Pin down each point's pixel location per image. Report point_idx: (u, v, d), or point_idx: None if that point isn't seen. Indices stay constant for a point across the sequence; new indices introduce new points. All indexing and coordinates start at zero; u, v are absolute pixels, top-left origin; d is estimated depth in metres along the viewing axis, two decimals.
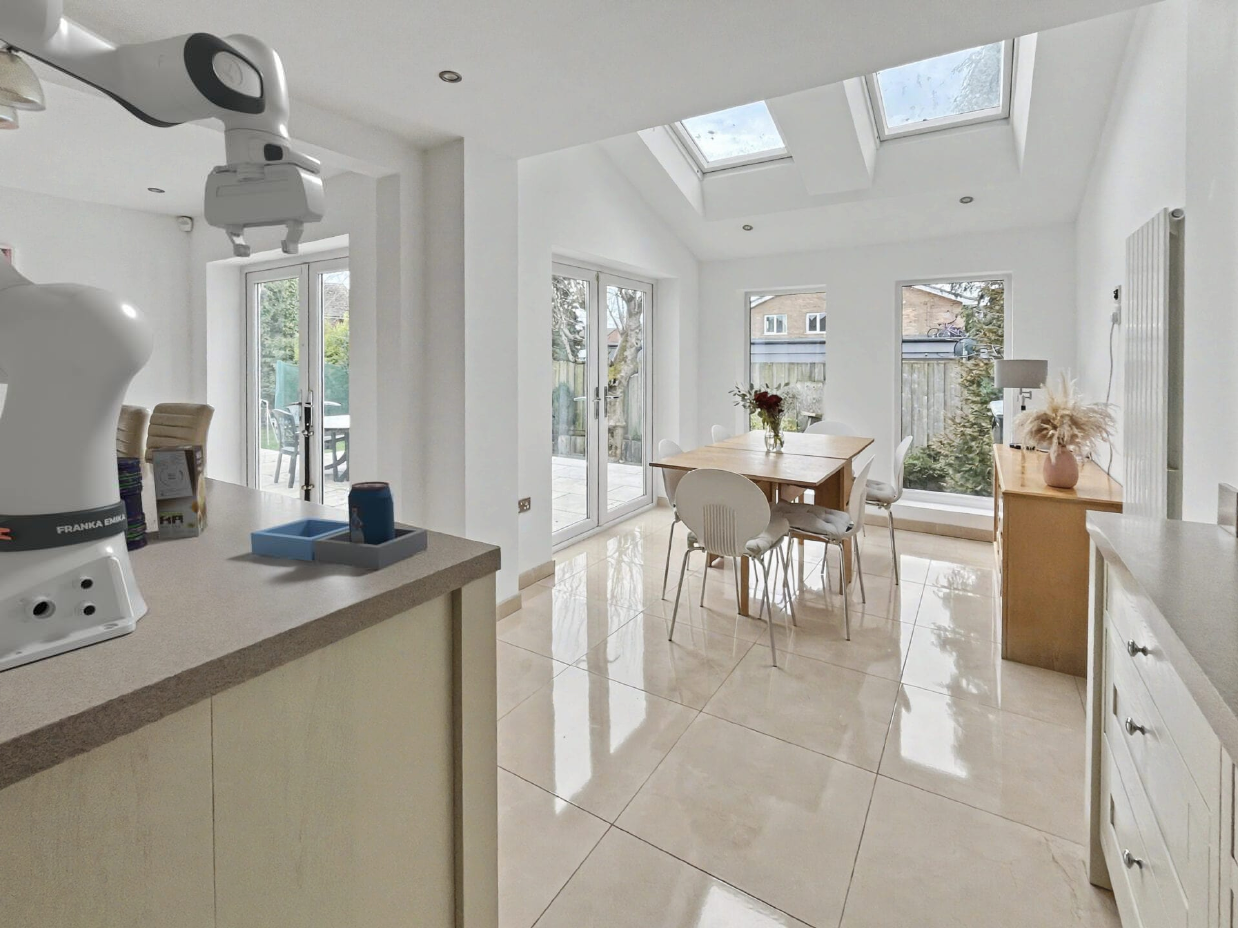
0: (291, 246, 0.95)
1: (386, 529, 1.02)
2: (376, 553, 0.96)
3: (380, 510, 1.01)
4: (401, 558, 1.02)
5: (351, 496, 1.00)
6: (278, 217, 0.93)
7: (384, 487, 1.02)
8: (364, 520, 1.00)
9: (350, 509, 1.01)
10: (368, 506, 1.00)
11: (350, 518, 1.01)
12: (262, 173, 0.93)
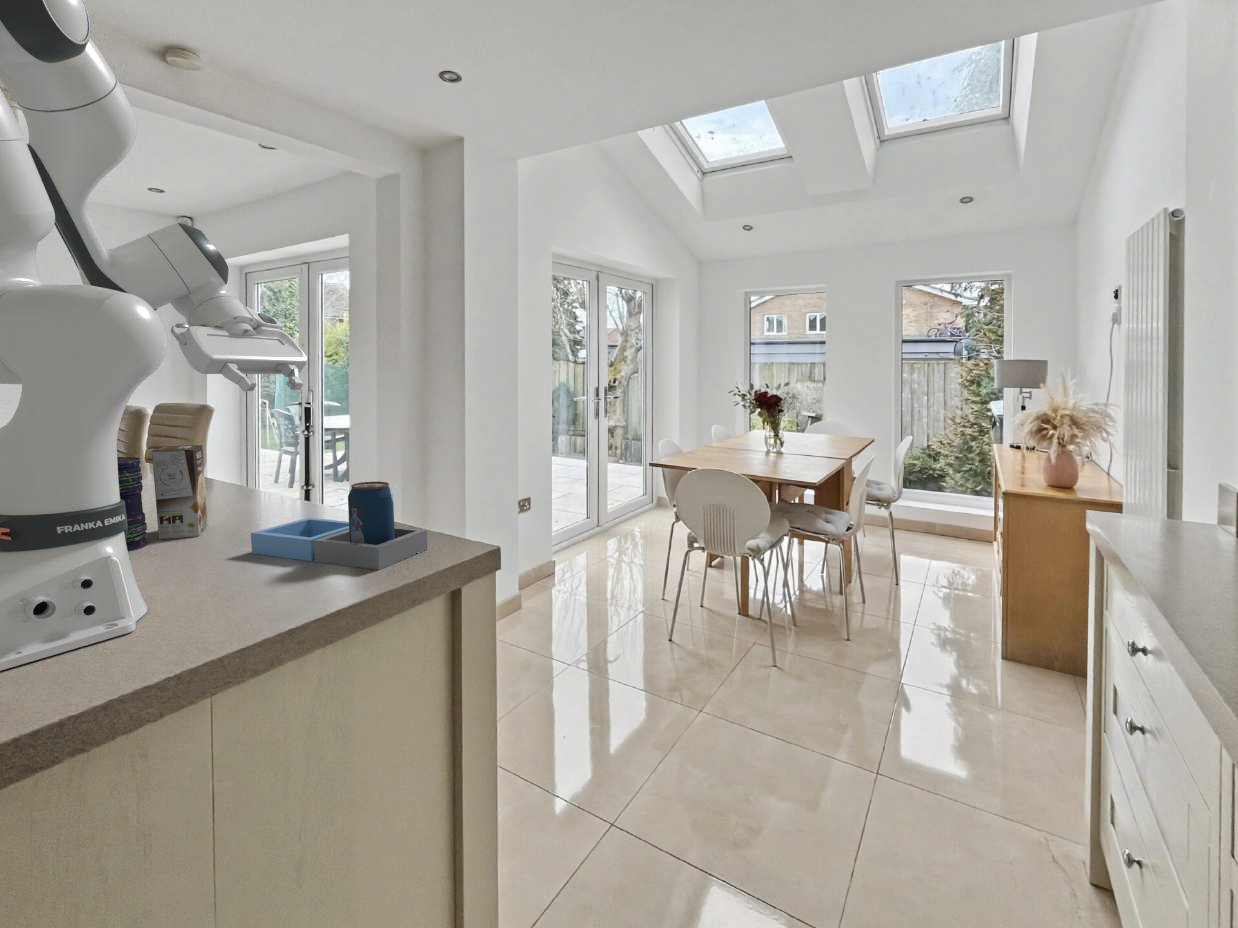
0: None
1: (386, 529, 1.02)
2: (376, 553, 0.96)
3: (380, 510, 1.01)
4: (401, 558, 1.02)
5: (351, 497, 1.00)
6: (285, 360, 1.08)
7: (384, 487, 1.02)
8: (364, 520, 1.00)
9: (350, 509, 1.01)
10: (367, 506, 1.00)
11: (350, 518, 1.01)
12: None
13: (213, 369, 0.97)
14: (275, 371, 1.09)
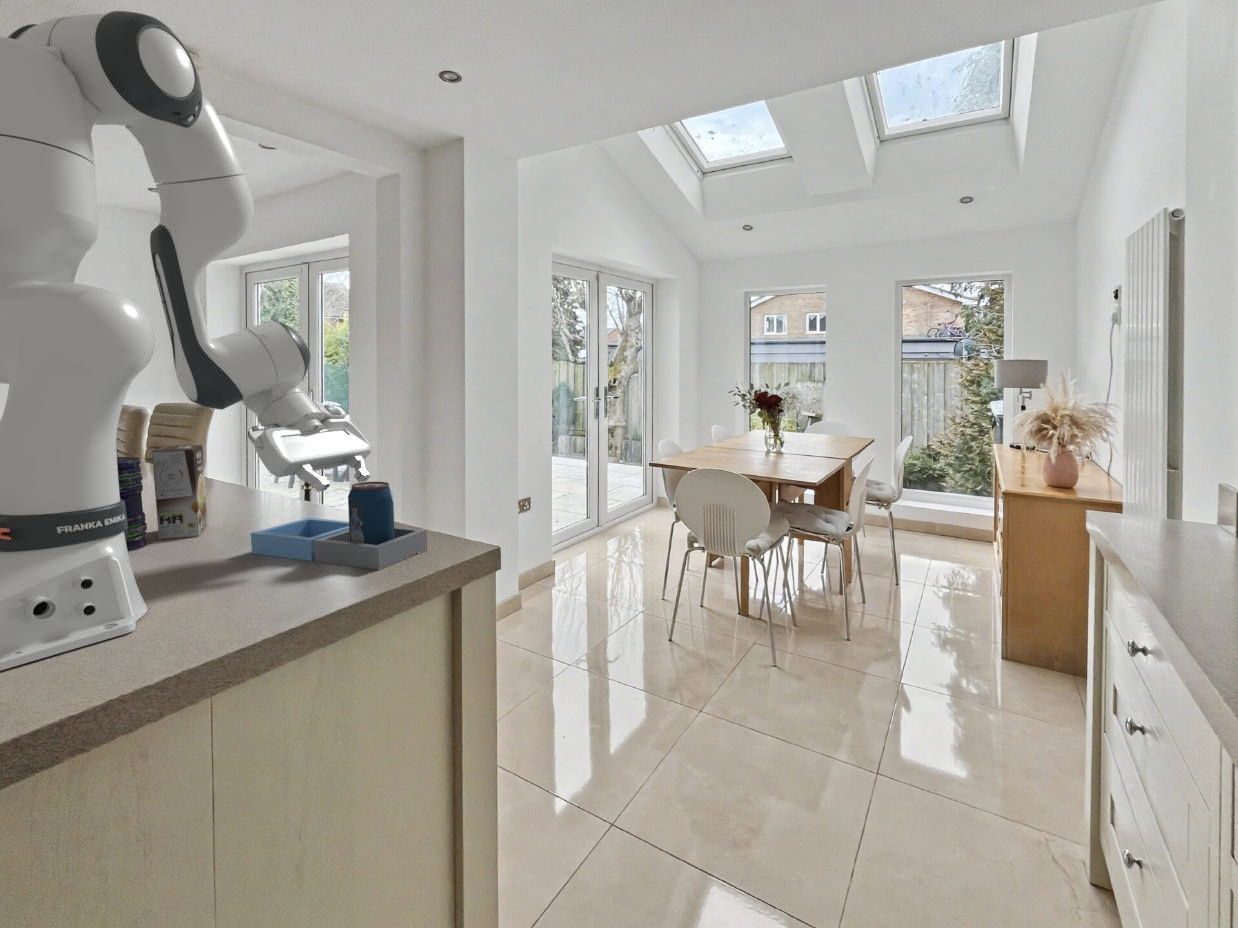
0: None
1: (386, 529, 1.02)
2: (376, 553, 0.96)
3: (380, 510, 1.01)
4: (401, 558, 1.02)
5: (351, 496, 1.00)
6: (352, 452, 1.09)
7: (384, 487, 1.02)
8: (364, 520, 1.00)
9: (350, 509, 1.01)
10: (368, 506, 1.00)
11: (350, 518, 1.01)
12: (322, 425, 1.07)
13: (289, 472, 0.98)
14: (342, 463, 1.09)
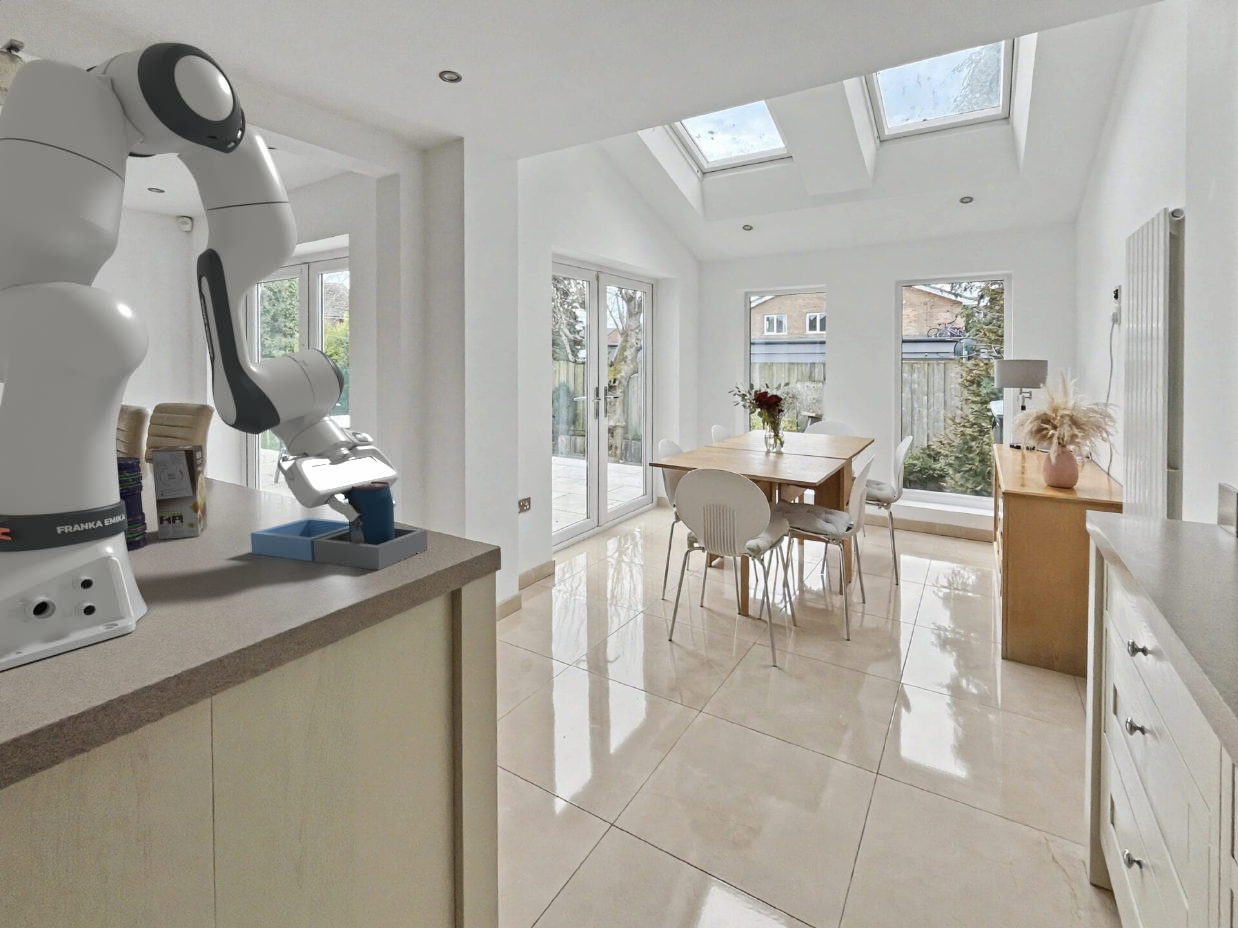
0: None
1: (386, 529, 1.02)
2: (376, 553, 0.96)
3: (380, 510, 1.01)
4: (401, 558, 1.02)
5: (351, 496, 1.00)
6: (380, 480, 1.07)
7: (384, 487, 1.02)
8: (364, 520, 1.00)
9: None
10: (367, 505, 1.00)
11: None
12: None
13: (319, 502, 0.96)
14: None
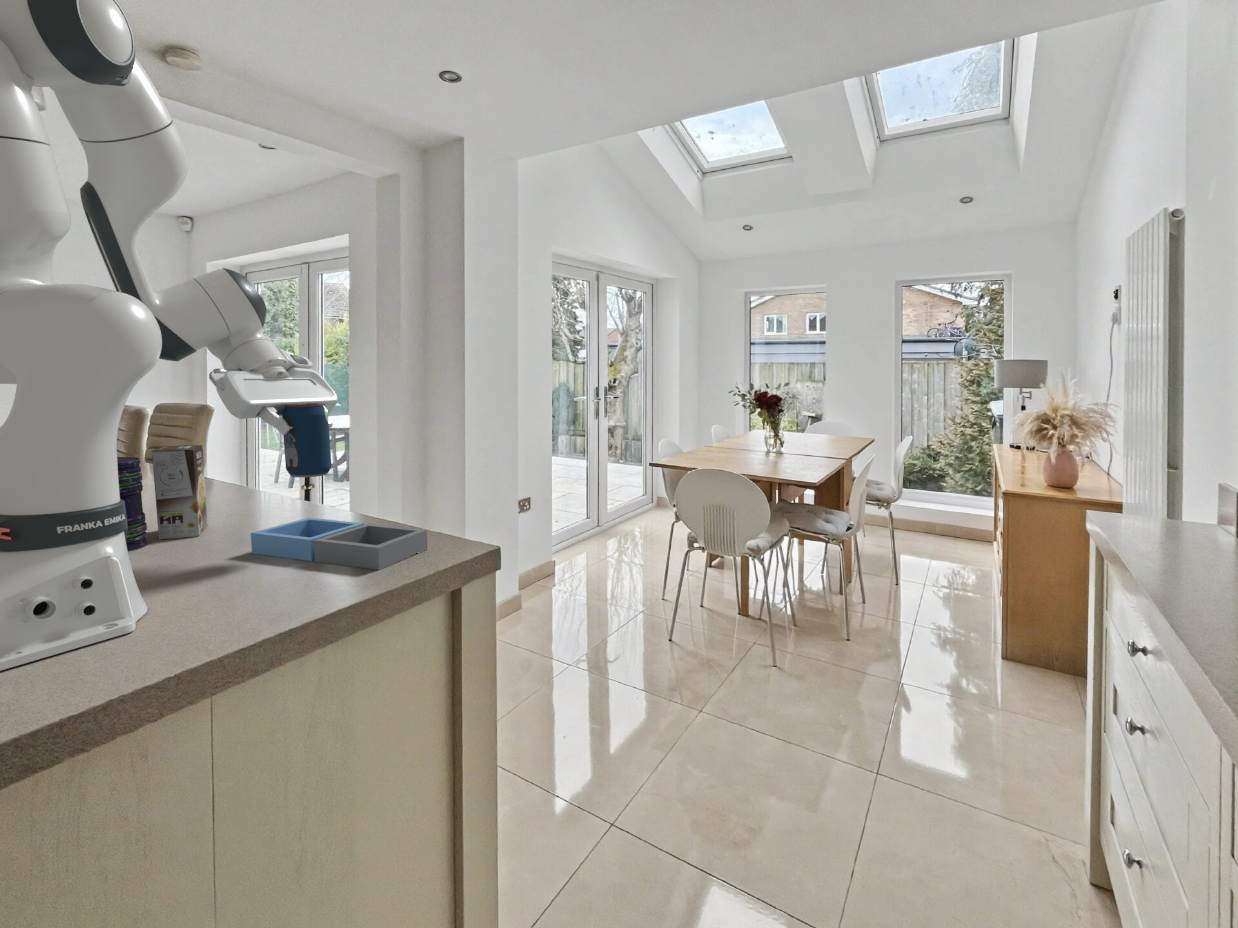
0: None
1: (320, 447, 1.04)
2: (376, 553, 0.96)
3: (313, 427, 1.03)
4: (401, 558, 1.02)
5: (284, 414, 1.02)
6: (317, 401, 1.10)
7: (317, 405, 1.04)
8: (297, 437, 1.02)
9: None
10: (300, 422, 1.02)
11: (284, 436, 1.03)
12: None
13: (250, 414, 0.98)
14: None
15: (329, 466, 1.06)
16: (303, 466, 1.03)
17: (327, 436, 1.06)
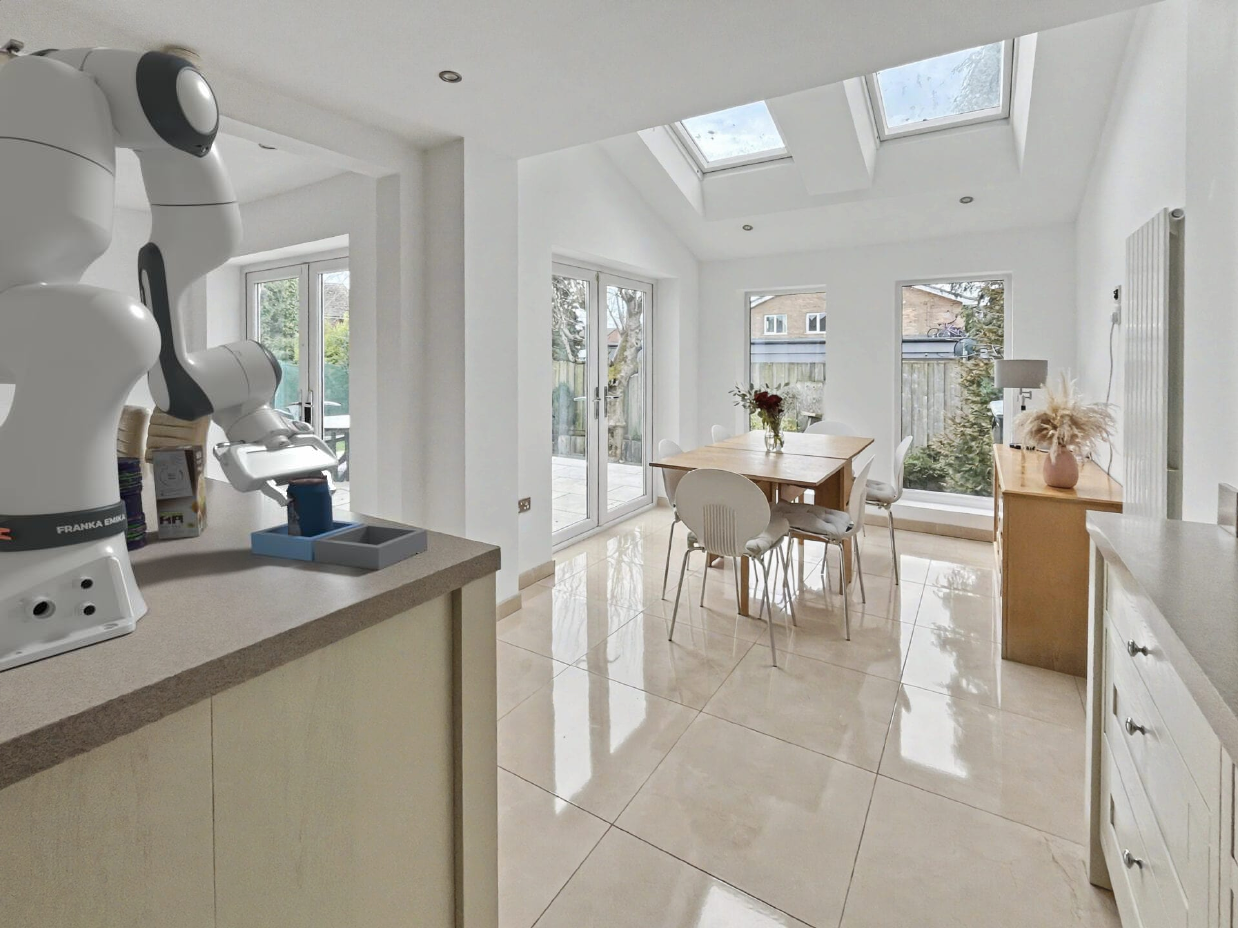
0: None
1: (323, 523, 1.06)
2: (376, 553, 0.96)
3: (316, 504, 1.04)
4: (401, 558, 1.02)
5: (288, 491, 1.04)
6: (318, 467, 1.11)
7: (321, 482, 1.05)
8: (300, 514, 1.04)
9: None
10: (304, 500, 1.03)
11: (288, 512, 1.05)
12: (289, 441, 1.10)
13: (253, 487, 1.00)
14: None
15: None
16: None
17: (330, 511, 1.07)
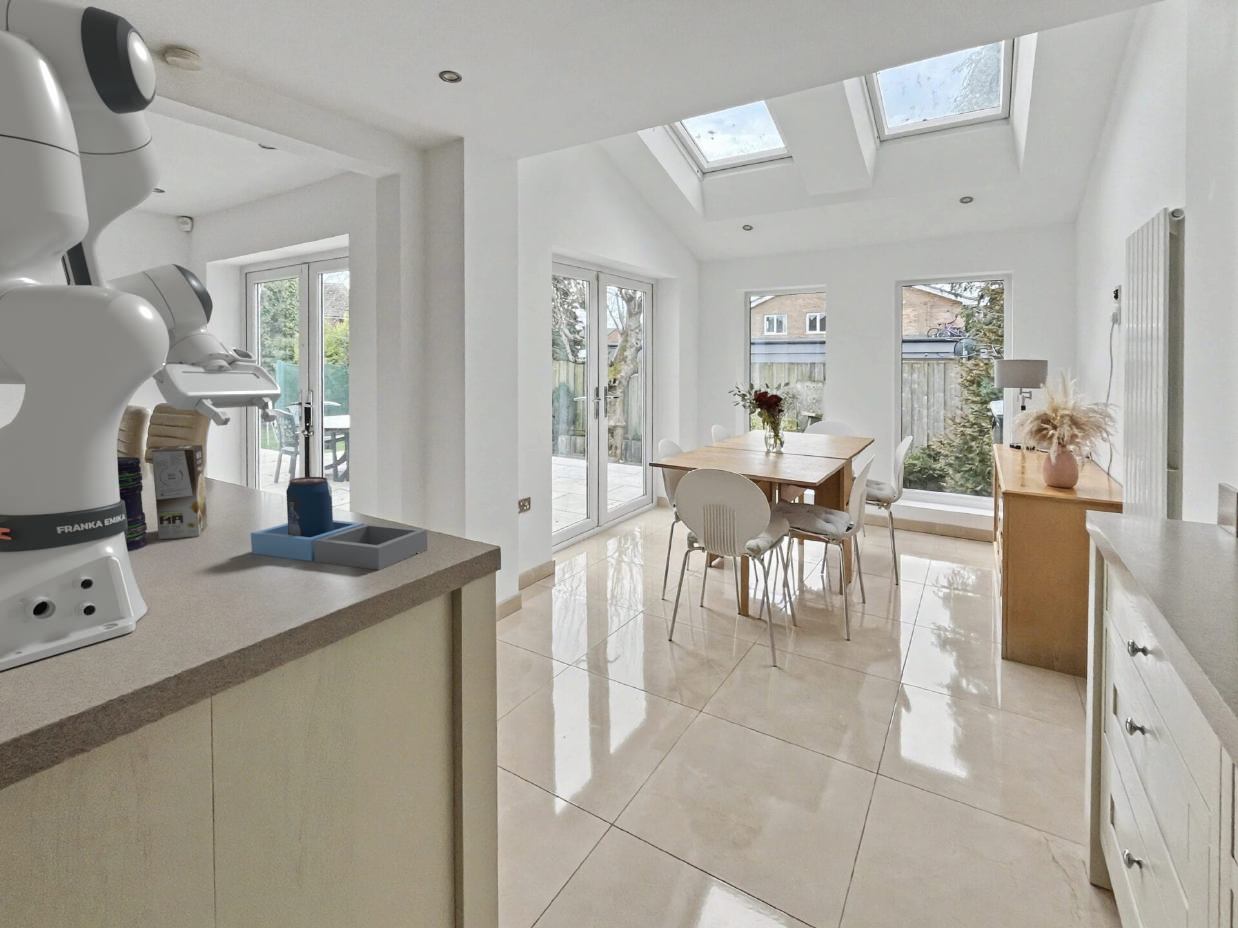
0: None
1: (323, 523, 1.06)
2: (376, 553, 0.96)
3: (316, 504, 1.05)
4: (401, 558, 1.02)
5: (288, 491, 1.04)
6: (259, 393, 1.13)
7: (321, 482, 1.05)
8: (300, 514, 1.04)
9: (288, 503, 1.04)
10: (304, 500, 1.04)
11: (288, 511, 1.05)
12: None
13: (188, 405, 1.02)
14: (250, 404, 1.14)
15: None
16: None
17: (330, 511, 1.07)
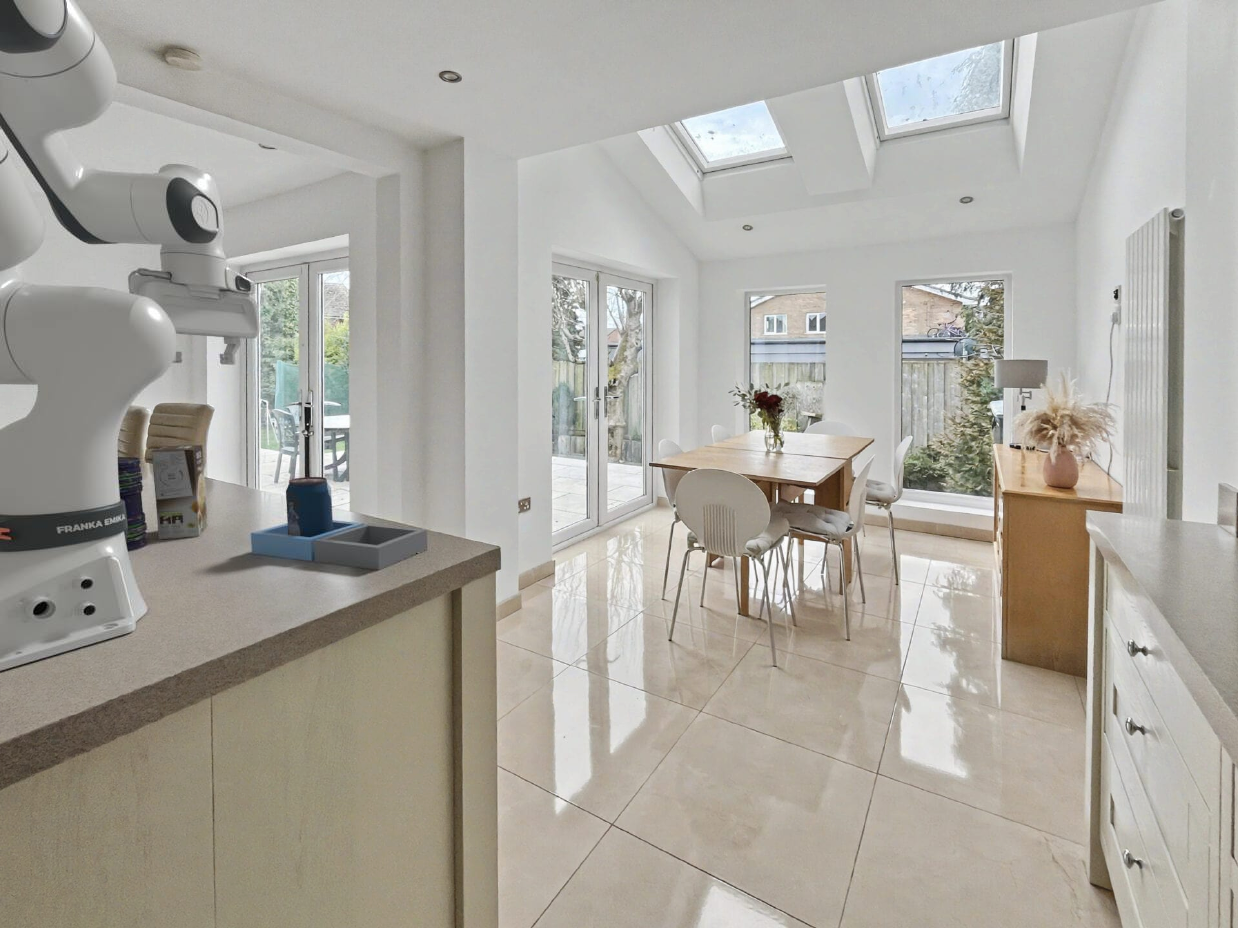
0: None
1: (323, 523, 1.06)
2: (376, 553, 0.96)
3: (316, 504, 1.04)
4: (401, 558, 1.02)
5: (288, 491, 1.04)
6: (232, 335, 1.06)
7: (320, 482, 1.05)
8: (300, 514, 1.04)
9: (287, 503, 1.04)
10: (303, 500, 1.03)
11: (287, 512, 1.05)
12: (219, 295, 1.03)
13: None
14: None
15: None
16: None
17: (330, 511, 1.07)
